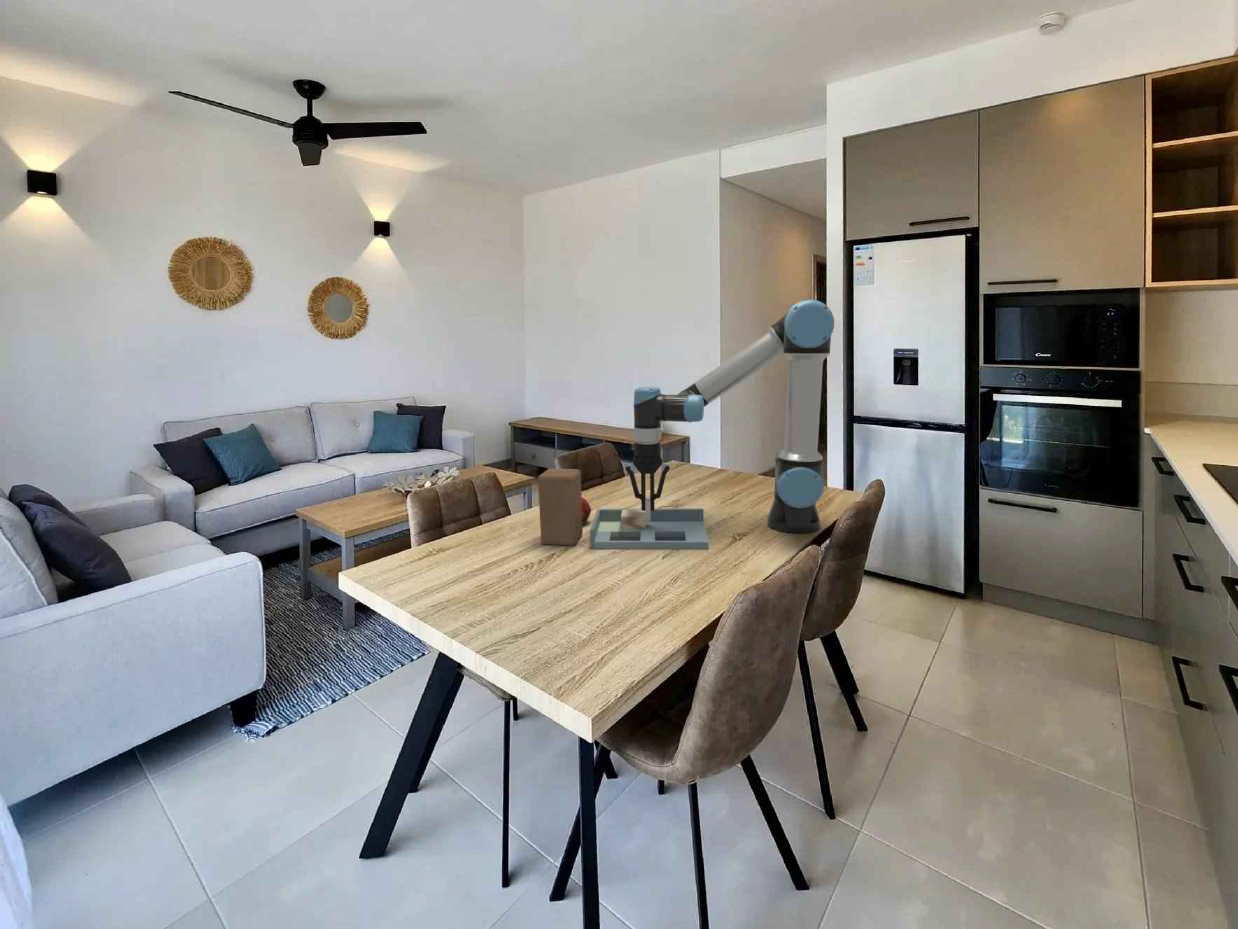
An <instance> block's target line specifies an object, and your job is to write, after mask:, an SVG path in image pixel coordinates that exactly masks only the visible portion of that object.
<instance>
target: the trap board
mask: <svg viewBox="0 0 1238 929" xmlns="http://www.w3.org/2000/svg"><path fill="white" fill-rule="evenodd" d="M622 510H642V509H641V508H597V509H596V512H595V515H594V517H593V520H592V523H591V526H590V529H589V531H590V532H589V534H590V550H709V549H710V541H709V538H708V535H707V534H708V533H707V530H706V526H705V522H704V511H705V509H704V508H654V511H651V522H646V529H645V530H621V514H622Z"/></svg>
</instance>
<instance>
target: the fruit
mask: <svg viewBox="0 0 1238 929" xmlns="http://www.w3.org/2000/svg"><path fill="white" fill-rule="evenodd" d="M581 498H582V524H583V523H585V522H587V521H588V519H589V518H590V515H591V512H592V507H591V506H590V503H589V502H588V501H587V500H586V499H585V498H584V497H582V496H581Z"/></svg>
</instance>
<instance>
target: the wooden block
mask: <svg viewBox="0 0 1238 929" xmlns="http://www.w3.org/2000/svg"><path fill="white" fill-rule="evenodd" d="M581 474H582V473H581V470H580V469H578V468H577V469H576V468H548V469H546V470H545V471H543V472H542V473H541V474H540V475H538V477H537V486H538V504H539V506H538V507H539V522H540V523H539V525H540V540H541V542H540V543H541V544H543V545H556V546H560V545H561V546H575V545H576V543H577V542H578V541H579V539H580V538H581V537H582V536H583V533H584V531H583V527H584V526H583V523H582V498H583V497H582V477H581V476H582V475H581ZM581 497H582V498H581Z"/></svg>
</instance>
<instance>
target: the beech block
mask: <svg viewBox="0 0 1238 929" xmlns="http://www.w3.org/2000/svg"><path fill="white" fill-rule="evenodd" d="M645 529H646V522H645V511H642V510H622V514H621V530H645Z"/></svg>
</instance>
